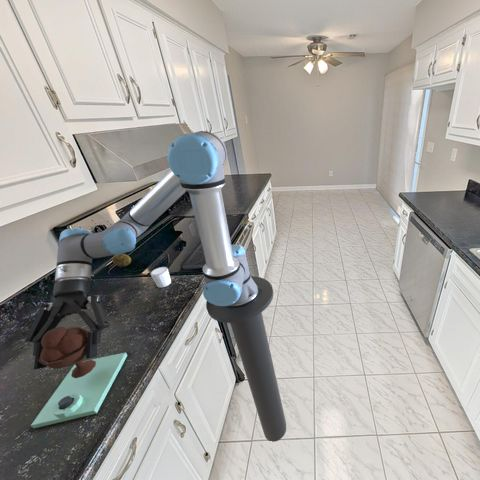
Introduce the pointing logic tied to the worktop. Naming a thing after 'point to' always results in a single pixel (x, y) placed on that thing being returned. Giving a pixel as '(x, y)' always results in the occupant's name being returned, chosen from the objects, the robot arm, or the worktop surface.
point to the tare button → (65, 402)
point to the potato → (121, 260)
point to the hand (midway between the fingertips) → (66, 363)
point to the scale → (82, 392)
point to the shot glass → (161, 276)
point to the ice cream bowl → (66, 350)
